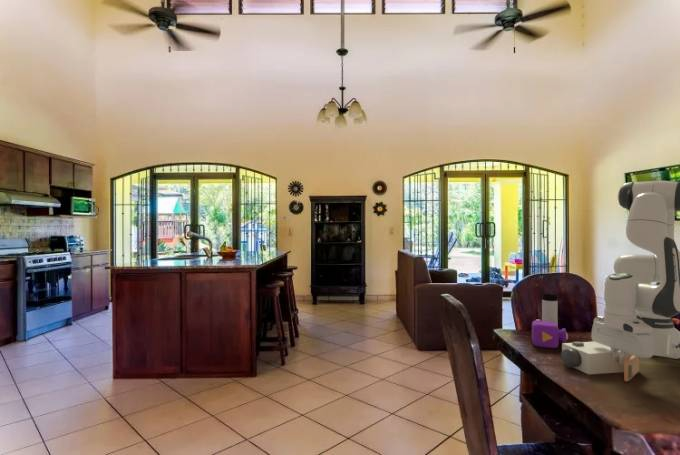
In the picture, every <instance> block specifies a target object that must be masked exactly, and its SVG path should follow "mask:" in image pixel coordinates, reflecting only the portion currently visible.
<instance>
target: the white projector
mask: <svg viewBox="0 0 680 455" xmlns="http://www.w3.org/2000/svg"><path fill="white" fill-rule="evenodd" d="M618 353H619V355H620V357H621V355H622V354H620V350H619V351H618ZM631 356H632V355H631V354H629V356H628V357H627V359H629V358H630V357H631ZM560 358H561V362H562V363H563V365H564V366H566V368H573V369H576V370H578V371H580V372H583V373H585V374H587V375H601V374H612V373H614V374H615V373H624V364H620V363H618V362H615V361H614V356H613V354H612V352H611V347H608V346H606V345H603V344H600V343H597V342H594V341H572V342H566V343H563V342H561V353H560ZM627 359H626V360H627Z"/></svg>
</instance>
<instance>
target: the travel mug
mask: <svg viewBox="0 0 680 455" xmlns="http://www.w3.org/2000/svg"><path fill="white" fill-rule="evenodd" d="M541 294H542V295H541V296H542V299H541V321H548V322H554V323H556V325H557V326H558V325H559V324H558V319H559V318H558V313H559V312H558V308H559V306H558V305H559V304H558V303H559V302H558V294H554V293H553V294H551V293H548V292H546V293H545V292H542V293H541Z"/></svg>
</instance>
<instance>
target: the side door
mask: <svg viewBox="0 0 680 455" xmlns="http://www.w3.org/2000/svg"><path fill="white" fill-rule="evenodd" d="M639 372H640V357H637V356H634V355H632V356H631V357H630V358H629V359H627V360H626V361H625V362H624V372H623V376H624V377H623V380H624V381H625V382H630V380H632V379H633V378H634V377H635V376H636V375H637V374H638V373H639Z"/></svg>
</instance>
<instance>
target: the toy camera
mask: <svg viewBox="0 0 680 455" xmlns="http://www.w3.org/2000/svg"><path fill="white" fill-rule="evenodd" d="M566 329H567V328H565V327H564V328H562V329H559V327H558V326H557V325H556V323H554V322H548V321H542V320H541V319H535V320H533V321H532V322H531V340H532V343H533V345H534V346H535V347H541V348H549V349H557V348H558V347H559V341H560V342H561V343H567V340H568V339H569V335H568V332H567V330H566Z"/></svg>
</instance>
